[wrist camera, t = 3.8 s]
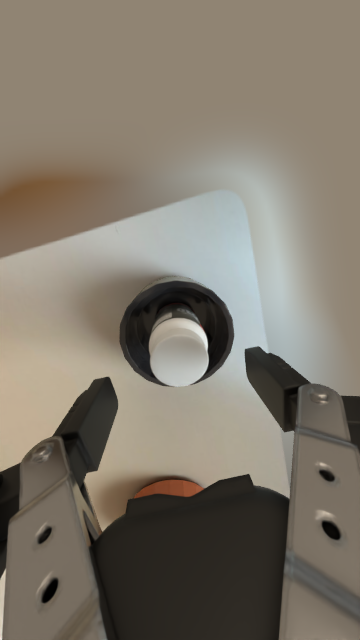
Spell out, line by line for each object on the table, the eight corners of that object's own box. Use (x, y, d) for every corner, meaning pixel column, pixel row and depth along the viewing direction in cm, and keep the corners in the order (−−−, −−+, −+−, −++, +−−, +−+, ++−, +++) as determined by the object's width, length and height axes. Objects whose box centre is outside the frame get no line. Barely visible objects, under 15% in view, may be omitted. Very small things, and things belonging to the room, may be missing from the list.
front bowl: (212, 267, 19) (227, 269, 14) (223, 351, 22) (238, 375, 18) (119, 286, 19) (103, 294, 14) (143, 367, 22) (136, 395, 18)
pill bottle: (205, 323, 20) (229, 362, 12) (174, 350, 21) (179, 403, 13) (176, 292, 19) (183, 314, 11) (145, 322, 20) (130, 362, 12)
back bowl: (203, 468, 28) (211, 509, 24) (215, 518, 32) (223, 562, 28) (120, 484, 28) (111, 529, 24) (142, 533, 32) (137, 580, 28)
